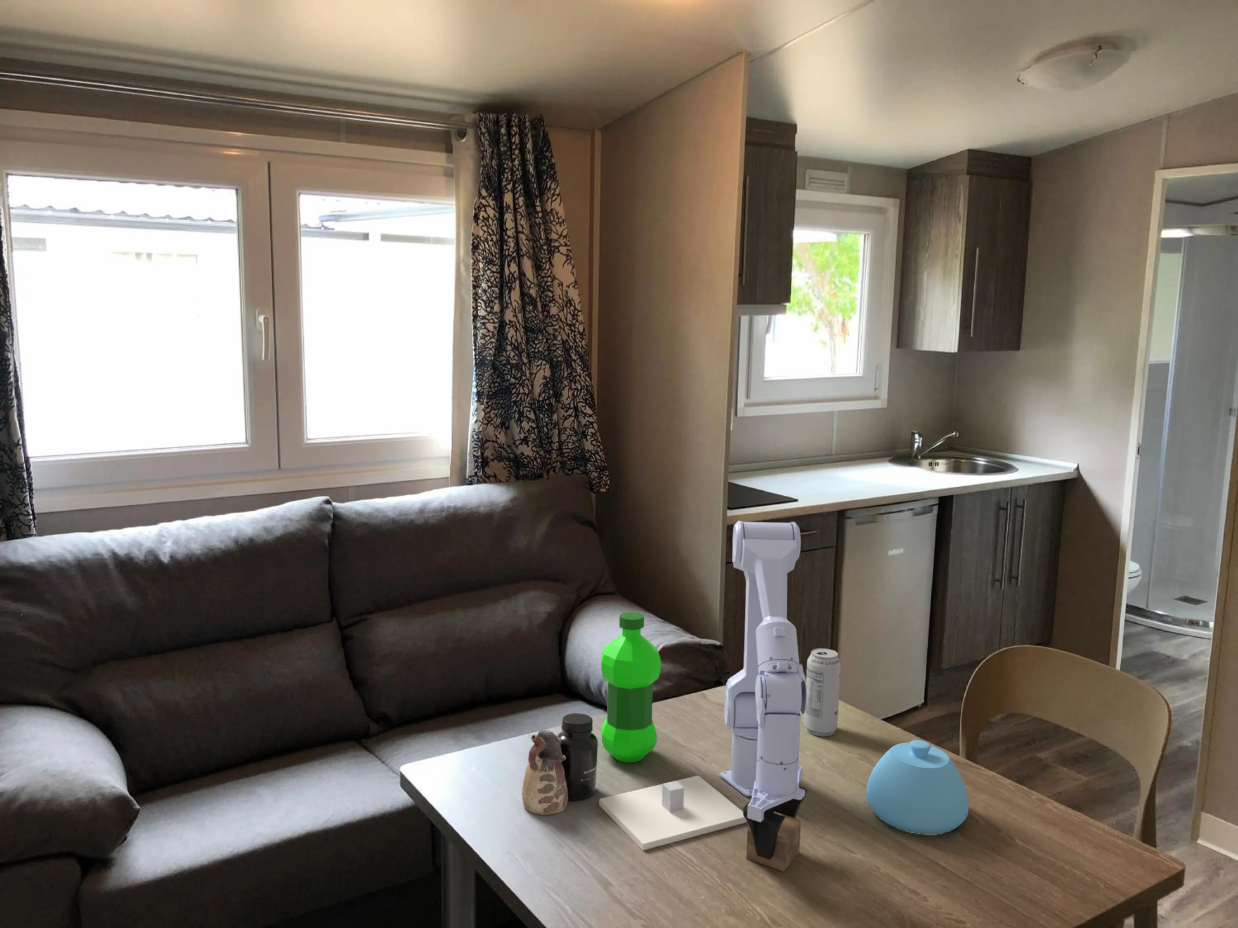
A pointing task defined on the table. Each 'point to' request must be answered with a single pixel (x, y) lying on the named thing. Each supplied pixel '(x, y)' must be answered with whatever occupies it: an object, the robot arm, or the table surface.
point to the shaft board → (671, 812)
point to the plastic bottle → (630, 691)
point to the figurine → (545, 776)
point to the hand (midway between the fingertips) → (773, 846)
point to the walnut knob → (779, 845)
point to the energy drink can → (822, 692)
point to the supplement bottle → (579, 755)
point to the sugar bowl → (917, 789)
